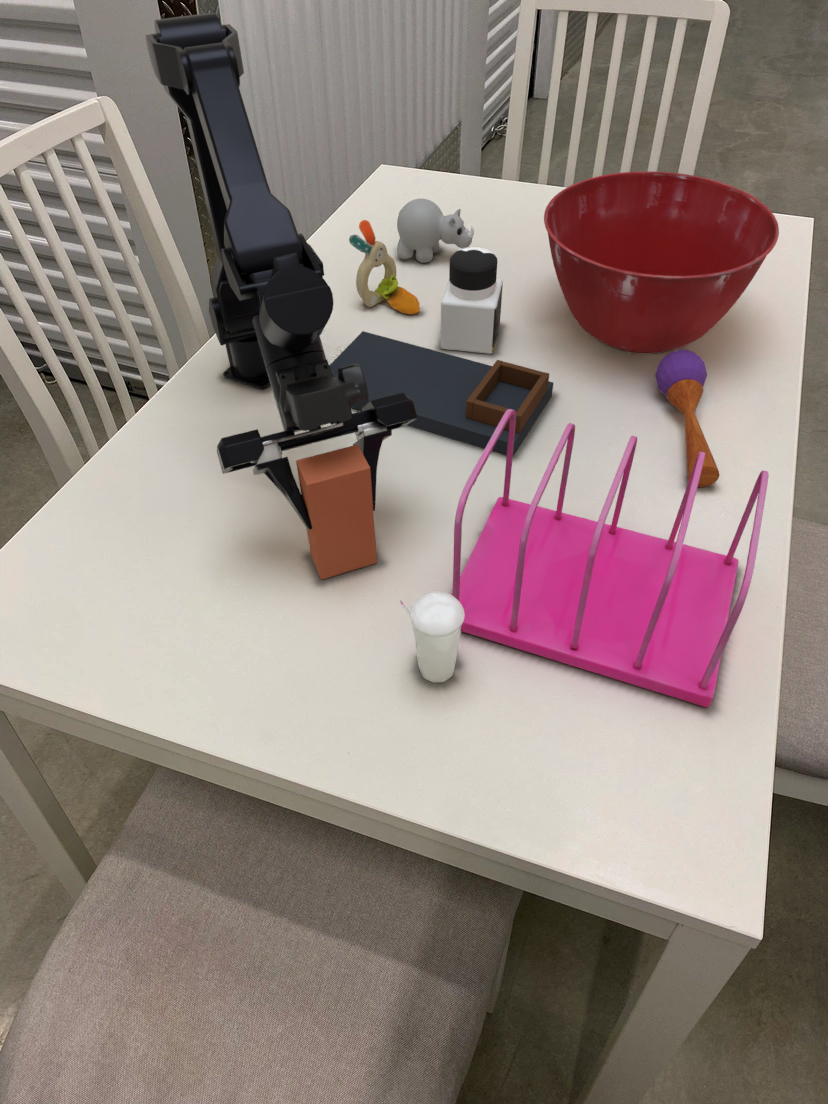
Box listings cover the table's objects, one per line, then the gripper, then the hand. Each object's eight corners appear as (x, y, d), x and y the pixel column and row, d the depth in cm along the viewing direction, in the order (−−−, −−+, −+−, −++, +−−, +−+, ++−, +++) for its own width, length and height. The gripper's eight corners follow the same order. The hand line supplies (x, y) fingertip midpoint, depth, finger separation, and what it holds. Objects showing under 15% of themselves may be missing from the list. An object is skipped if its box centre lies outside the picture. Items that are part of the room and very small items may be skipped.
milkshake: (401, 650, 76) (398, 581, 69) (458, 646, 76) (461, 576, 69) (405, 692, 73) (402, 623, 66) (464, 687, 73) (468, 618, 66)
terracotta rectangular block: (310, 555, 84) (295, 460, 75) (365, 539, 86) (357, 443, 76) (321, 580, 82) (306, 484, 72) (377, 563, 83) (370, 467, 74)
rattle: (377, 328, 113) (373, 249, 105) (350, 301, 118) (343, 224, 110) (423, 312, 116) (423, 235, 107) (395, 287, 121) (392, 211, 112)
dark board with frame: (313, 396, 103) (309, 366, 100) (363, 343, 111) (361, 314, 107) (512, 457, 94) (515, 426, 91) (551, 395, 102) (555, 365, 99)
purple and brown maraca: (676, 460, 87) (652, 343, 100) (674, 497, 92) (652, 381, 104) (734, 454, 86) (703, 336, 99) (730, 492, 91) (700, 375, 103)
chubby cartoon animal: (465, 274, 123) (466, 219, 116) (390, 262, 126) (388, 207, 119) (479, 252, 127) (481, 198, 121) (407, 241, 130) (406, 187, 124)
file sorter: (497, 507, 89) (507, 388, 77) (734, 570, 82) (784, 450, 71) (440, 626, 78) (442, 508, 66) (708, 709, 71) (762, 595, 60)
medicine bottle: (492, 355, 108) (498, 271, 100) (440, 349, 109) (440, 266, 101) (499, 326, 113) (505, 243, 104) (449, 321, 114) (450, 238, 105)
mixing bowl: (512, 367, 106) (521, 255, 95) (555, 262, 125) (567, 158, 113) (737, 405, 100) (776, 290, 89) (748, 289, 118) (781, 181, 107)
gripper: (196, 365, 67) (251, 547, 68) (408, 317, 72) (455, 489, 73) (197, 390, 78) (244, 547, 79) (381, 347, 82) (423, 496, 84)
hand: (341, 520), depth 78 cm, fingers closed on terracotta rectangular block, 6 cm apart
